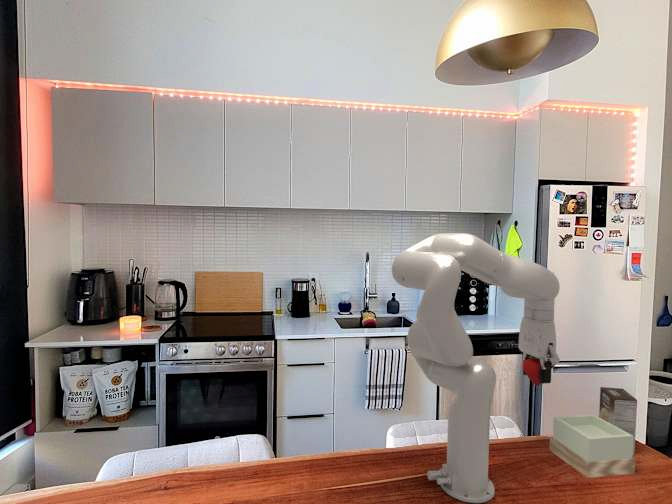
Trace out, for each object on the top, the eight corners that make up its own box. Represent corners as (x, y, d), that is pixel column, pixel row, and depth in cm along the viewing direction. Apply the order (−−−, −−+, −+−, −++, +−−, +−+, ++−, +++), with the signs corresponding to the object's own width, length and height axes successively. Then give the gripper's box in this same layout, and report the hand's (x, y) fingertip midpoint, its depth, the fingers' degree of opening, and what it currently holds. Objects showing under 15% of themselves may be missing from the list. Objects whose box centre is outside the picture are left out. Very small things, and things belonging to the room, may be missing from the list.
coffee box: (596, 437, 125) (599, 386, 124) (620, 440, 123) (622, 388, 123) (610, 453, 116) (613, 397, 115) (636, 455, 114) (638, 399, 114)
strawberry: (517, 381, 116) (519, 347, 116) (544, 382, 117) (545, 347, 116) (528, 389, 110) (529, 352, 110) (555, 389, 111) (556, 353, 110)
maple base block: (587, 480, 103) (588, 462, 103) (549, 451, 117) (549, 436, 117) (634, 475, 106) (635, 458, 106) (591, 448, 119) (592, 433, 119)
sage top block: (588, 462, 103) (589, 438, 103) (552, 437, 116) (553, 416, 116) (632, 458, 106) (633, 435, 105) (592, 434, 118) (593, 414, 118)
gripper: (507, 309, 121) (505, 369, 121) (548, 321, 104) (546, 391, 104) (530, 309, 122) (528, 368, 123) (574, 320, 105) (571, 389, 106)
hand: (536, 378), depth 113 cm, fingers closed on strawberry, 6 cm apart
